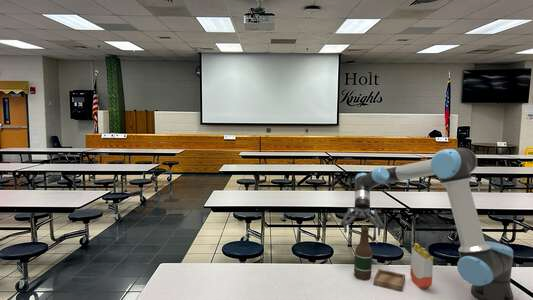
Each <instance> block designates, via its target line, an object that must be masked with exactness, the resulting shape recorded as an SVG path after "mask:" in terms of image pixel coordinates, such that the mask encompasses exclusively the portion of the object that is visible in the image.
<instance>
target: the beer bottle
mask: <svg viewBox="0 0 533 300" xmlns="http://www.w3.org/2000/svg"><path fill="white" fill-rule="evenodd" d="M369 230H370V227H369V226H366V225H362V226H361V227H360V231H361V232H360V237H359V238H360V239H359V243H358V244H357V245H356V247H355V250H354V266H353V267H354V268H353V275H354V277H355V278H356V279H358V280H361V281H367V280H370V278H371V277H372V267H373V266H372V264H373V250H372V247H371V245H370V240H369V236H370V235H369V232H370V231H369Z"/></svg>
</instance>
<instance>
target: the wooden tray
mask: <svg viewBox="0 0 533 300" xmlns="http://www.w3.org/2000/svg"><path fill="white" fill-rule="evenodd" d="M405 281H406V274H404V273H400V272H394V271H390V270H385V269H382V268H381V269H380V268H377V271H376V273H375V276H374V277H373V283H372V285H373V286H378V287H380V288H385V289H389V290H394V291H397V292H401V293H402V292H403V289H404V285H405Z"/></svg>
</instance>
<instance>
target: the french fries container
mask: <svg viewBox="0 0 533 300" xmlns="http://www.w3.org/2000/svg"><path fill="white" fill-rule="evenodd" d="M410 255H411V259H410V269H409V271H410V273H409V274H410V278H411V281H412V283H413V284H414V285H415V286H416V287H417V288H419V289H420V288H421V289H422V288H423V289H425V288H430V287H431V286H433V285H432V284H433V270H434V269H433V268H434V267H433V265H434V256H432V255H431V256H430V253H429V252H428V251H426V248H425V247H421V245H419V243H417V242H416V243H415V242H414V245H413V247H412V248H411V254H410Z"/></svg>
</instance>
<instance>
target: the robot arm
mask: <svg viewBox="0 0 533 300" xmlns="http://www.w3.org/2000/svg"><path fill="white" fill-rule="evenodd" d="M477 165H478V158H477V156H476V153H474V152H473V151H472V149H471V150H470V149H469V148H465V147H456V148H455V147H454V148H445V149H442V150H439V151H437V152H435V154H434V155H433V157H432V158H431V159H426V160H421V161H416V162H413V163H407V164H403V165H399V166H393V167H388V168H386V167H383V166H379V167H377V168H374V169H373V170H372V171H370V172H369V173H366V172H360V173H357V174H356V175H355V180H354V208H351V207H348V208H347V212H346V213H345V215H344V216H343V218H342V220H341V222H340V226H343V227H344V229H343V230H344V233H346V238H345V239H346V241H348V240H349V225H350V224H351V223H353V222H354V220H356V219H357V218H358V219H367V220H368V221H369V222H370V223H371V225H373V226H374V228H375V243H376V244H378V242H379V237H380V235H381V230H384V229H385V225H384V223H383V221H382V219H381V218H380V216H379V215H378V210H377V209H376V208H375V209H373V210H372V209H371V190H372V189H374V188H375V187H378V186H379V185H385V184H390V183H397V182H402V181H407V180H413V179H420V178H425V177H430V176H436V177H437V178H438V179H439V182H440V185H442V186H444V187H445V190H446V193H447V197H448V200H449V204H450V207H451V208H450V209H451V211H452V215H453V219H454V223H455V228H456V231H457V235H458V238H459V243H460V246H459V248H458V250H457V251H458V254H459V257H460V258H459V259H458V262H457V263H456V264H457V265H456V268H457V272H458V275H460V277H461V278H462V279H463V280H464V281H466V282H467V283H469V284H470V285H471V286H470V293H471V295H472V296H473V297H474V298H476V299H477V300H514V294H513V290H512V286H511V277H512V268H513V259H514V250H513V249H512V247H510V246H508V245H506V244H502V243H499V242H494V241H489V240H485V237H484V234H483V230H482V227H481V222H480V219H479V216H478V211H477V208H476V204H475V201H474V197H473V194H472V190H471V186H470V182H471V180H472V179H473V178H472V174H471V173H472V172H473V171H474V170H475V169H476V168H477ZM352 213H354V214H353V215H351V214H352ZM371 214H372V215H371ZM349 216H351V217H350V218H349ZM372 216H374V218H375V219H374V218H373V217H372ZM348 218H349V219H348Z"/></svg>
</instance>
